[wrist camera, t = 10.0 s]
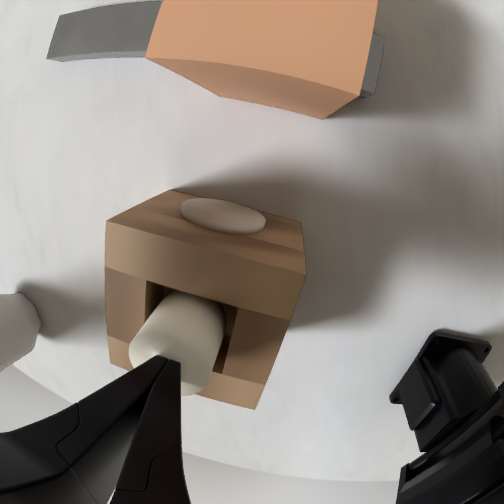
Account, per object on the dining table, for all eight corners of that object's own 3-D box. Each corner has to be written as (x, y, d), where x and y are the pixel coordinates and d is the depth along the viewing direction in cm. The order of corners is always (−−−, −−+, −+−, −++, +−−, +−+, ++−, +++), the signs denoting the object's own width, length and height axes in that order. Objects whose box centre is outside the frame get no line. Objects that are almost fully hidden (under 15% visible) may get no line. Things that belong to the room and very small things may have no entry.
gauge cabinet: (302, 216, 15) (309, 265, 9) (266, 333, 17) (255, 409, 12) (170, 184, 15) (106, 212, 9) (156, 301, 18) (110, 363, 12)
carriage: (348, 6, 10) (387, -83, 3) (322, 119, 13) (359, 95, 5) (250, -14, 10) (215, -108, 3) (219, 96, 13) (144, 57, 6)
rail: (377, 46, 11) (385, 37, 10) (366, 97, 12) (374, 93, 11) (73, 20, 12) (59, 15, 10) (61, 61, 13) (46, 58, 11)
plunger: (233, 299, 11) (215, 349, 8) (220, 353, 12) (203, 404, 9) (162, 278, 11) (127, 320, 8) (158, 334, 12) (130, 379, 9)
